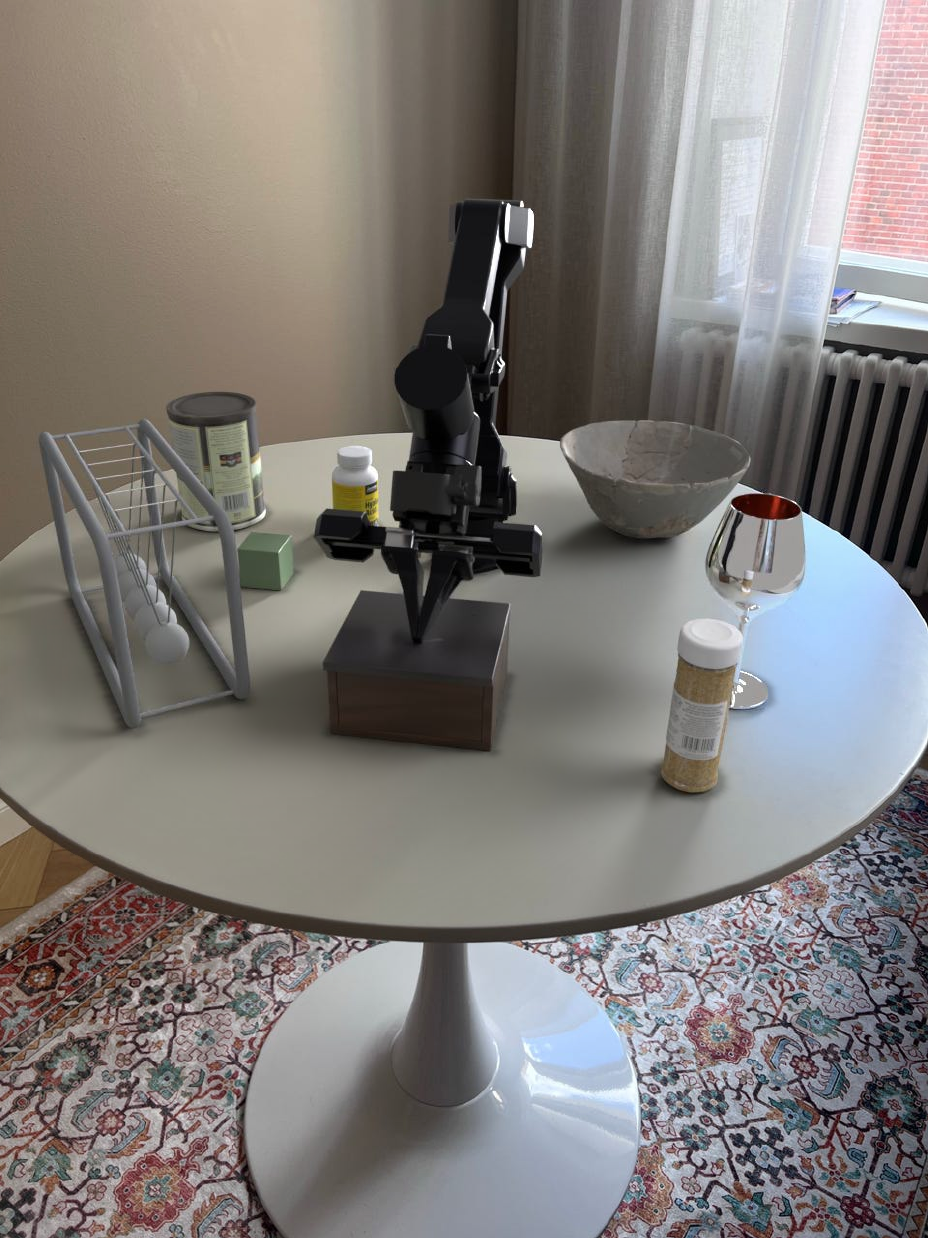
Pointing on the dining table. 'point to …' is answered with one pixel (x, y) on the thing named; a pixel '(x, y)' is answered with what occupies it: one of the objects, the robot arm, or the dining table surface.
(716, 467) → the ceramic bowl
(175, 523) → the newton's cradle
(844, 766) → the dining table surface
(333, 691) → the walnut box
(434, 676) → the lid
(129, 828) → the dining table surface
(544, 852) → the dining table surface
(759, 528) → the wineglass
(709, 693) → the sprinkles bottle
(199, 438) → the coffee can
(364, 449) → the supplement bottle
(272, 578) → the block
